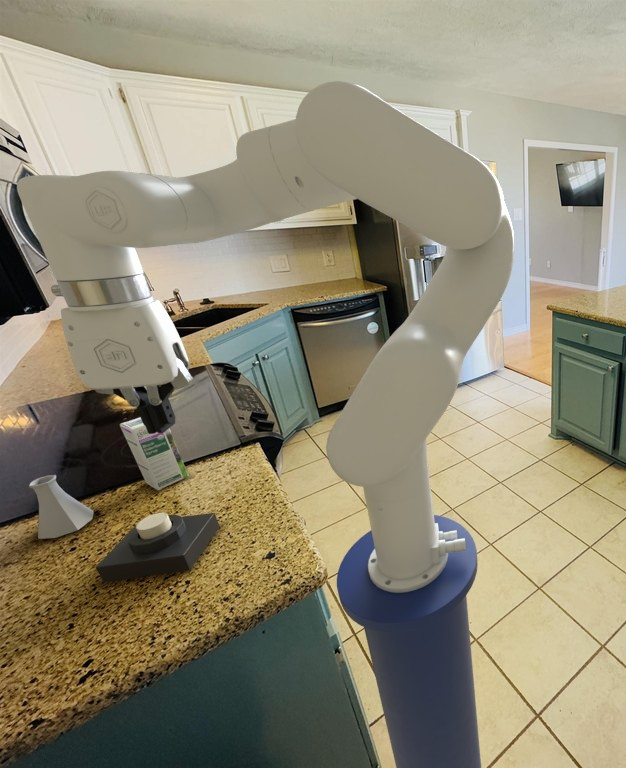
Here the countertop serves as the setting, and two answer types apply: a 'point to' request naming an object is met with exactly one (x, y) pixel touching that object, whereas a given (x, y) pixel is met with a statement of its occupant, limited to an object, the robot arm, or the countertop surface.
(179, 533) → the dark grey button base
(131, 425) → the syrup box
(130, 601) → the countertop surface
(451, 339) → the robot arm
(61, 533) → the flask
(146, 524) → the white push button
